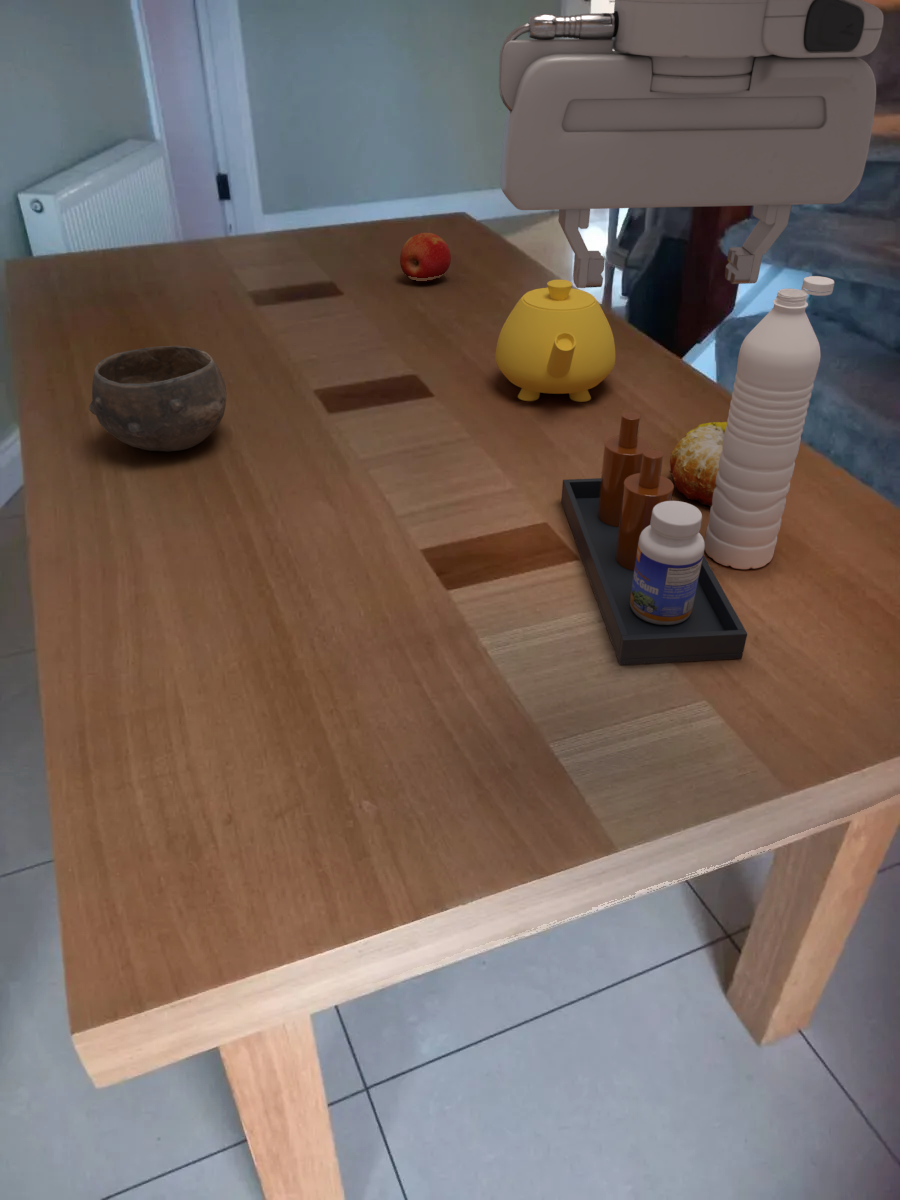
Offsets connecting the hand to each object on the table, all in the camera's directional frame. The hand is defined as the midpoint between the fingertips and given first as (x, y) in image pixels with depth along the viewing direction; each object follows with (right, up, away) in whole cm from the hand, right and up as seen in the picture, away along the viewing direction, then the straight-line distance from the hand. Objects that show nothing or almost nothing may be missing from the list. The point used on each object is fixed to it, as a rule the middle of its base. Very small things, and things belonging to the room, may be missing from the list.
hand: (664, 283), depth 56 cm
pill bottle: (+5, -20, +25) cm, 32 cm away
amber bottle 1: (+4, -11, +37) cm, 39 cm away
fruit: (+16, -7, +44) cm, 47 cm away
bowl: (-46, -1, +53) cm, 70 cm away
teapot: (+1, +8, +65) cm, 65 cm away
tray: (+5, -16, +31) cm, 35 cm away
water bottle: (+16, -14, +34) cm, 40 cm away
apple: (-17, +36, +105) cm, 112 cm away
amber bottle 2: (+5, -15, +31) cm, 35 cm away
